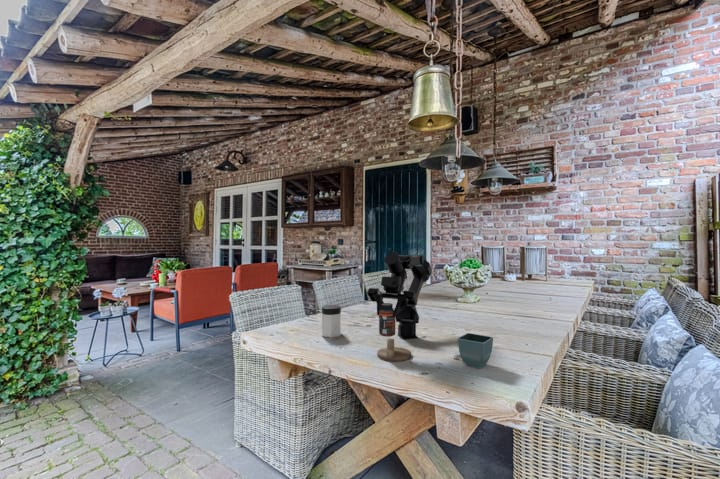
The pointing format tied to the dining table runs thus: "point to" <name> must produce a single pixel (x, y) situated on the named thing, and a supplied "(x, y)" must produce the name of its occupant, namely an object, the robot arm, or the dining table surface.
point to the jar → (331, 321)
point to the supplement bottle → (386, 320)
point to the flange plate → (397, 354)
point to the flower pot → (475, 349)
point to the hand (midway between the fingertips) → (385, 315)
